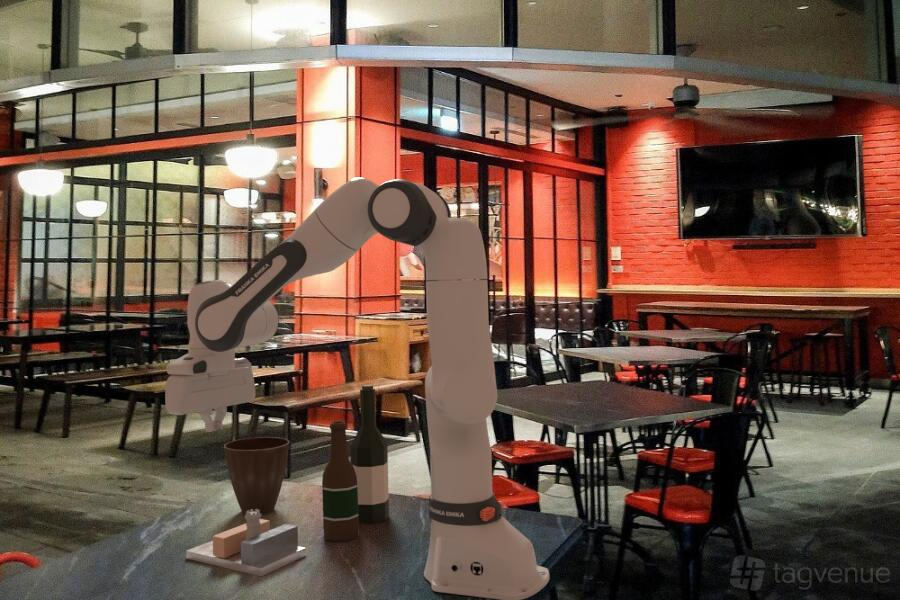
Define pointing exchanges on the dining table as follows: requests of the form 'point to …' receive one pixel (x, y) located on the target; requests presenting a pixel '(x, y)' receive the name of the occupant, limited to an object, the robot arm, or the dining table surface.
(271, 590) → the dining table surface
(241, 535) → the block
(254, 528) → the rook chess piece
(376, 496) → the wine bottle
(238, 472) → the plant pot
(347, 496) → the beer bottle
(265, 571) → the vise base
